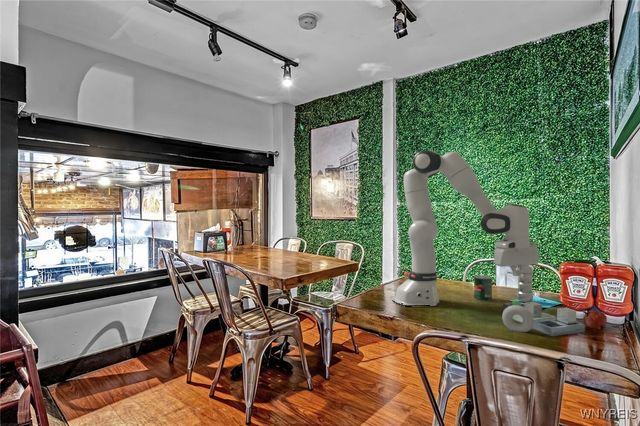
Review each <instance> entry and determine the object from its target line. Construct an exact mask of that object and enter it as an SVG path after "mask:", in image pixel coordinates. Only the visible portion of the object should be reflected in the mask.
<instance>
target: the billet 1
mask: <svg viewBox="0 0 640 426" xmlns="http://www.w3.org/2000/svg"><path fill="white" fill-rule="evenodd" d="M524 305H525V308H526V309H527V310H528V311H529V312H530V313H531V314H532V316H533V319H535V318H542V312H543V304H541V303H538V302H535V301H531V302H524Z"/></svg>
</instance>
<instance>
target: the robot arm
mask: <svg viewBox="0 0 640 426" xmlns="http://www.w3.org/2000/svg"><path fill="white" fill-rule="evenodd" d="M412 166H413V168H412V169H409V170H407V171H406V172H405V173H404V174H403V190H404V196H405V202H406V208H407V211H408V212H409V215H410V218H411V221H412V223H411V225H409V228H408V231H407V234H408V237H409V246H410V251H411V252H410V254H411V271H410V272H409V271H404V273H403V275H404V276H407V277H408V278H407V279H405V281H404V282H403V283H402V284H400V285H399V286H398V287H397V288H396V293H395V295H394V296H392V297H391V298H392V300H394V301H395V302H397V303H400V304H401V303H403V305H430V306H429V307H435V306H438V305H437V304H439V303H440V299H439V296H438V291H437V277H438V276H437V269H436V267H437V266H436V265H437V264H436V263H437V259H436V257H437V255H436V251H435V243H434V240H435V239H436V237H437V236H438V233H439V226H438V225H437V220H436V217H435V213H434V211H433V207H432V203H431V199H430V197H431V196H430V194H429V193H430V192H429V188H428V182H427V181H428V179H430V178H431V177H434V176H435V175H437V174H439V173H442V174H443V176H444V177H445V178H446V180H447V182H448V183H449V184H450V185H451V187H452V188H453V189H454V190H456V192H458V193H459V194H460V195H463V196H464V197H466V198H467V199H469V200H470V201H471V203H472V204H473V205H474V206H475V208H476V209H477V210H478V212H479V213H480V215H481V219H480V227H481V229H482V230H483V232H485V233H487V234H489V235H498V234H499V235H500V234H504V236H505V237H504V238H501V239H499V240H497V241H495V243H494V247H495V249H494V254H493V261H494V264H495V266H498V267H510V270H511V272H512V276H513V277H518V276H521V275H522V270H523V269H524V265H530V266H531V265H538V264H539V263H540V253H539V251H540V250H539V249H538V244H537V243H536V242H534V241H531V242H530V233H529V229H530V224H531V223H530V221H531V220H530V213H529V209H528V208H527V207H526V206H524V205H521V204H515V203H514V204H513V203H509V204H506V205H505V206H504V207H502V208H500V209H497V208H496V207H495V206H494V205H493V203H492V202H491V200H490V199H489V198H488V197H487V195H486V194H485V192H484V191H483V189H482V186H481V185H480V182H479V179H478V177H477V175H476V173H475V171H473V169H472V167H471V166H470V164H469V163H468V162H467V160H465V159H464V158H463V156H462V155H460V154H459V152H457V151H448V152H446V153H445V154H443V155H440V154H439V153H437V152H435V151H433V150H429V149H425V150H424V149H422V150H420V151H418V152H417V153H415V155H414V156H413V158H412ZM392 300H391V301H392Z"/></svg>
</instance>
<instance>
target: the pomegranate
mask: <svg viewBox="0 0 640 426" xmlns="http://www.w3.org/2000/svg"><path fill="white" fill-rule="evenodd" d="M582 313H583V314H584V315H583V318H582V320H583V324H585V326H586V327H587V328H589V329H592V330H601V329H602V328H604V329H606V325H607V321H608V317H607V315H606V314H605V313H604V312H602V311H600V310H597V309H592V310H589V311H582Z"/></svg>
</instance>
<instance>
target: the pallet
mask: <svg viewBox="0 0 640 426" xmlns="http://www.w3.org/2000/svg"><path fill="white" fill-rule="evenodd" d="M532 329H533V330H535V331H539V332H541V333H543V334H546V335H547V336H551V337H557V336H563V335H570V334H578V333H586V331H585V330H586V325H585V323H582V322H578V321H576V324H573V325H566V324H563V323H560V322H557V318H556V319H549V320H541V321H534V324H533V327H532Z"/></svg>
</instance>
